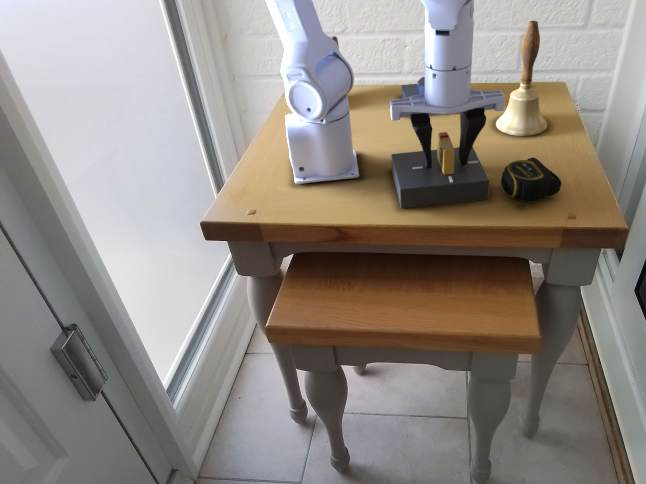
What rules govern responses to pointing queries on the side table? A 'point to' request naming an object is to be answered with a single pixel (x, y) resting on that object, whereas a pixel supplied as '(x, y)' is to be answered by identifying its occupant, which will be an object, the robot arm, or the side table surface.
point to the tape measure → (529, 180)
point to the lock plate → (438, 180)
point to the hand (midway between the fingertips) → (445, 163)
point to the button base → (413, 89)
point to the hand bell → (525, 93)
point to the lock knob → (445, 153)
